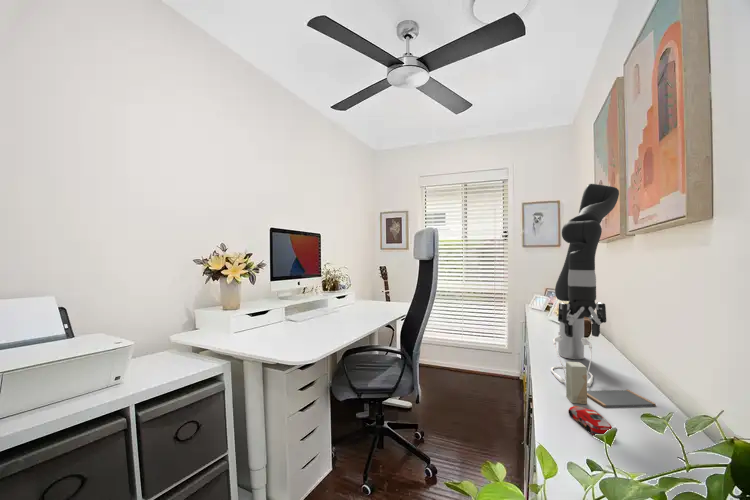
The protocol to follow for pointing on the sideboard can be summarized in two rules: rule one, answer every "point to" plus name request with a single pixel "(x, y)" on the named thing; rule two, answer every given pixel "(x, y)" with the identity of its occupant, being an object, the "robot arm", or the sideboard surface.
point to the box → (576, 382)
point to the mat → (618, 398)
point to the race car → (589, 419)
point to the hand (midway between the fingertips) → (582, 336)
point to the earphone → (558, 339)
